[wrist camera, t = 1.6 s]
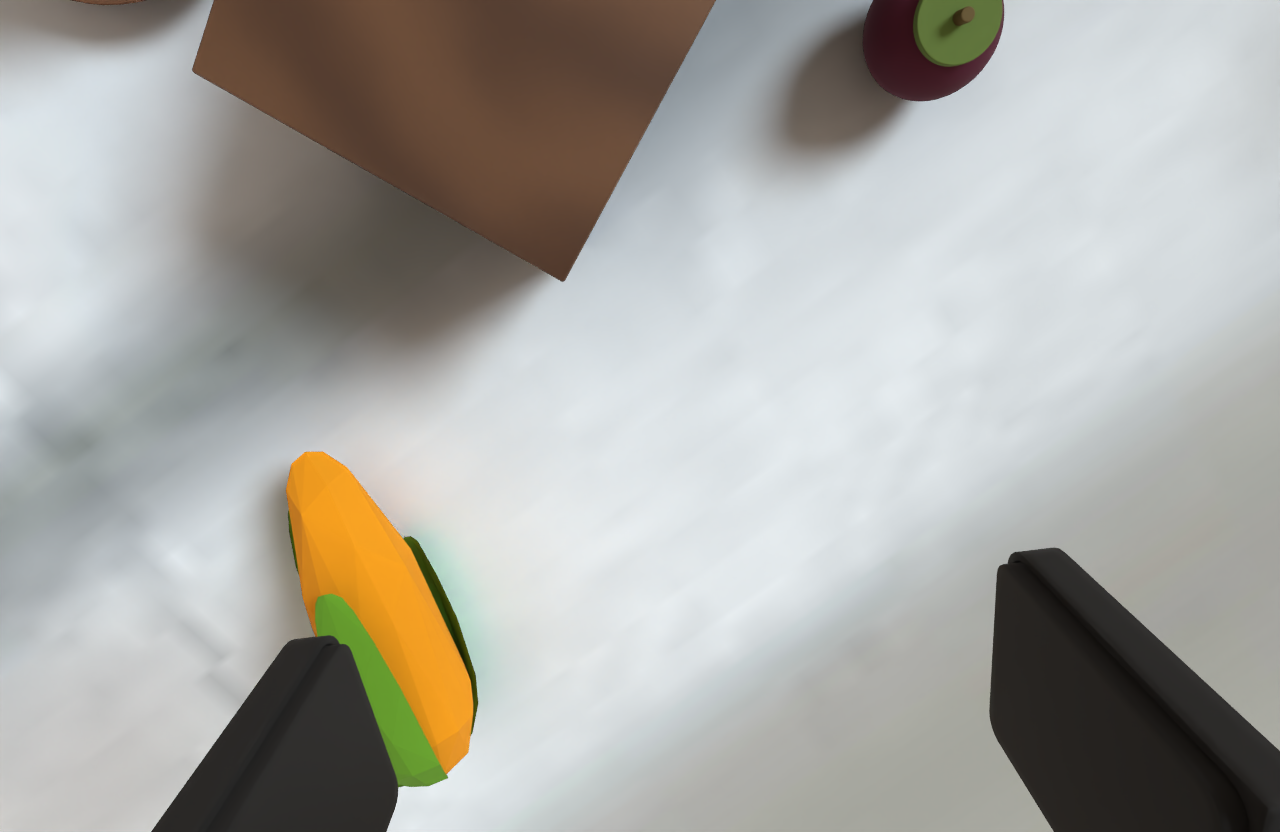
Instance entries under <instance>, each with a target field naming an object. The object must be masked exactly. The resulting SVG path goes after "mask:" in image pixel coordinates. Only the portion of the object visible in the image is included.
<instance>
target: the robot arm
mask: <svg viewBox="0 0 1280 832" xmlns="http://www.w3.org/2000/svg"><path fill="white" fill-rule="evenodd" d="M989 711H990V721H991V725H992V728H993V731H994V734H995V736H996V738H997V740H998V742H999V744H1000V745H1001V747H1002V749H1003V750H1004V752H1005V753H1006V755H1007V757H1008V758H1009V760H1010V761H1011V763H1012V765H1013V766H1014V768H1015V770H1016V771H1017V773H1018V774H1019V776H1020V778H1021V779H1022V781H1023V782H1024V784H1025V786H1026V787H1027V789H1028V791H1029V792H1030V794H1031V795H1032V797H1033V799H1034V800H1035V802H1036V803H1037V805H1038V807H1039V808H1040V810H1041V812H1042V813H1043V815H1044V816H1045V818H1046V820H1047V821H1048V823H1049V824H1050V826H1051V828H1052V829H1053V831H1054V832H1280V751H1279V750H1278V749H1277V748H1276V747H1275V746H1274V745H1273V744H1271V743H1270V742H1269V741H1268V740H1267V739H1266V738H1265V737H1264V736H1263V735H1262V734H1261V733H1260V732H1258V731H1257V730H1256V729H1255V728H1254V727H1253V726H1252V725H1251V724H1250V723H1249V722H1248V721H1247V720H1245V719H1244V718H1243V717H1242V716H1241V715H1240V714H1239V713H1238V712H1237V711H1236V710H1235V709H1234V708H1233V707H1231V706H1230V705H1229V704H1228V703H1227V702H1226V701H1225V700H1224V699H1223V698H1222V697H1221V696H1220V695H1218V694H1217V693H1216V692H1215V691H1214V690H1213V689H1212V688H1211V687H1210V686H1209V685H1208V684H1207V683H1205V682H1204V681H1203V680H1202V679H1201V678H1200V677H1199V676H1198V675H1197V674H1196V673H1195V672H1194V671H1193V670H1191V669H1190V668H1189V667H1188V666H1187V665H1186V664H1185V663H1184V662H1183V661H1182V660H1181V659H1180V658H1178V657H1177V656H1176V655H1175V654H1174V653H1173V652H1172V651H1171V650H1170V649H1169V648H1168V647H1166V646H1165V645H1164V644H1163V643H1162V642H1161V641H1160V640H1159V639H1158V638H1157V637H1156V636H1155V635H1154V634H1152V633H1151V632H1150V631H1149V630H1148V629H1147V628H1146V627H1145V626H1144V625H1143V624H1142V623H1141V622H1139V621H1138V620H1137V619H1136V618H1135V617H1134V616H1133V615H1132V614H1131V613H1130V612H1129V611H1128V610H1126V609H1125V608H1124V607H1123V606H1122V605H1121V604H1120V603H1119V602H1118V601H1117V600H1116V599H1115V598H1114V597H1112V596H1111V595H1110V594H1109V593H1108V592H1107V591H1106V590H1105V589H1104V588H1103V587H1102V586H1101V585H1099V584H1098V583H1097V582H1096V581H1095V580H1094V579H1093V578H1092V577H1091V576H1090V575H1089V574H1088V573H1086V572H1085V571H1084V570H1083V569H1082V568H1081V567H1080V566H1079V565H1078V564H1077V563H1076V562H1075V561H1074V560H1072V559H1071V558H1070V557H1069V556H1068V555H1067V554H1066V553H1065V552H1063V551H1062V550H1060V549H1059V548H1046V549H1038V550H1030V551H1022V552H1015V553H1013V554H1011V556H1010V558H1009V560H1008V564H1003V565H1001V566H999V568H998V571H997V582H996V601H995V619H994V637H993V655H992V673H991V692H990V710H989ZM397 797H398V781H397V777H396V774H395V771H394V769H393V766H392V763H391V760H390V757H389V755H388V752H387V749H386V746H385V743H384V741H383V738H382V735H381V732H380V729H379V727H378V724H377V721H376V718H375V716H374V713H373V710H372V707H371V704H370V702H369V699H368V696H367V693H366V690H365V688H364V685H363V682H362V679H361V676H360V674H359V671H358V668H357V665H356V662H355V660H354V657H353V654H352V651H351V649H350V647H349V646H348V645H346V644H340V643H339V641H338V640H337V639H336V638H335V637H334V636H331V635H327V636H318V637H310V638H302V639H294V640H291V641H289V642H288V643H287V644H286V645H285V646H284V647H283V648H282V650H281V651H280V653H279V654H278V655H277V657H276V658H275V660H274V661H273V662H272V664H271V665H270V667H269V668H268V669H267V671H266V672H265V674H264V675H263V676H262V678H261V679H260V681H259V682H258V683H257V685H256V686H255V688H254V689H253V690H252V692H251V693H250V695H249V696H248V697H247V699H246V700H245V702H244V703H243V704H242V706H241V707H240V709H239V710H238V711H237V713H236V714H235V716H234V717H233V718H232V720H231V721H230V722H229V724H228V725H227V727H226V728H225V729H224V731H223V732H222V734H221V735H220V736H219V738H218V739H217V741H216V742H215V743H214V745H213V746H212V748H211V749H210V750H209V752H208V753H207V755H206V756H205V757H204V759H203V760H202V762H201V763H200V764H199V766H198V767H197V769H196V770H195V771H194V773H193V774H192V776H191V777H190V778H189V780H188V781H187V783H186V784H185V785H184V787H183V788H182V789H181V791H180V792H179V794H178V795H177V796H176V798H175V799H174V801H173V802H172V803H171V805H170V806H169V808H168V809H167V810H166V812H165V813H164V815H163V816H162V817H161V819H160V820H159V822H158V823H157V824H156V826H155V827H154V829H153V830H152V831H151V832H386V831H387V828H388V826H389V823H390V820H391V818H392V815H393V812H394V809H395V806H396V803H397Z"/></svg>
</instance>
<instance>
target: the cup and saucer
mask: <svg viewBox="0 0 1280 832" xmlns="http://www.w3.org/2000/svg"><path fill="white" fill-rule="evenodd" d="M72 1H77V2H83V3H88V4H99V5H121V4H129V3H136V2H141V1H145V0H72Z"/></svg>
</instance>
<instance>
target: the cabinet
mask: <svg viewBox="0 0 1280 832" xmlns="http://www.w3.org/2000/svg"><path fill="white" fill-rule="evenodd" d="M715 1H716V0H214V2H213V5H212V8H211V11H210V14H209V18H208V21H207V24H206V27H205V30H204V33H203V37H202V40H201V43H200V46H199V49H198V52H197V56H196V59H195V62H194V65H193V68H192V71H193V72H194V73H195V74H197V75H199V76H200V77H202V78H204V79H206V80H208V81H209V82H211V83H213V84H215V85H216V86H218V87H220V88H222V89H223V90H225V91H227V92H229V93H230V94H232V95H234V96H236V97H237V98H239V99H241V100H243V101H245V102H246V103H248V104H250V105H252V106H253V107H255V108H257V109H259V110H260V111H262V112H264V113H266V114H267V115H269V116H271V117H273V118H274V119H276V120H278V121H280V122H282V123H283V124H285V125H287V126H289V127H290V128H292V129H294V130H296V131H297V132H299V133H301V134H303V135H304V136H306V137H308V138H310V139H311V140H313V141H315V142H317V143H319V144H320V145H322V146H324V147H326V148H327V149H329V150H331V151H333V152H334V153H336V154H338V155H340V156H341V157H343V158H345V159H347V160H348V161H350V162H352V163H354V164H356V165H357V166H359V167H361V168H363V169H364V170H366V171H368V172H370V173H371V174H373V175H375V176H377V177H378V178H380V179H382V180H384V181H385V182H387V183H389V184H391V185H393V186H394V187H396V188H398V189H400V190H401V191H403V192H405V193H407V194H408V195H410V196H412V197H414V198H415V199H417V200H419V201H421V202H422V203H424V204H426V205H428V206H430V207H431V208H433V209H435V210H437V211H438V212H440V213H442V214H444V215H445V216H447V217H449V218H451V219H452V220H454V221H456V222H458V223H459V224H461V225H463V226H465V227H467V228H468V229H470V230H472V231H474V232H475V233H477V234H479V235H481V236H482V237H484V238H486V239H488V240H489V241H491V242H493V243H495V244H496V245H498V246H500V247H502V248H504V249H505V250H507V251H509V252H511V253H512V254H514V255H516V256H518V257H519V258H521V259H523V260H525V261H526V262H528V263H530V264H532V265H533V266H535V267H537V268H539V269H541V270H542V271H544V272H546V273H548V274H549V275H551V276H553V277H555V278H556V279H558V280H560V281H562V282H564V281H565V279H566V278H567V276H568V274H569V272H570V270H571V268H572V266H573V265H574V263H575V261H576V259H577V257H578V255H579V253H580V252H581V250H582V248H583V246H584V244H585V242H586V240H587V239H588V237H589V235H590V233H591V231H592V229H593V227H594V226H595V224H596V222H597V220H598V218H599V216H600V214H601V213H602V211H603V209H604V207H605V205H606V203H607V201H608V200H609V198H610V196H611V194H612V192H613V190H614V188H615V187H616V185H617V183H618V181H619V179H620V177H621V176H622V174H623V172H624V170H625V168H626V166H627V164H628V163H629V161H630V159H631V157H632V155H633V153H634V151H635V150H636V148H637V146H638V144H639V142H640V140H641V138H642V137H643V135H644V133H645V131H646V129H647V127H648V125H649V124H650V122H651V120H652V118H653V116H654V114H655V112H656V111H657V109H658V107H659V105H660V103H661V101H662V99H663V98H664V96H665V94H666V92H667V90H668V88H669V86H670V85H671V83H672V81H673V79H674V77H675V75H676V73H677V72H678V70H679V68H680V66H681V64H682V62H683V60H684V59H685V57H686V55H687V53H688V51H689V49H690V47H691V46H692V44H693V42H694V40H695V38H696V36H697V35H698V33H699V31H700V29H701V27H702V25H703V23H704V22H705V20H706V18H707V16H708V14H709V12H710V10H711V9H712V7H713V5H714V3H715Z"/></svg>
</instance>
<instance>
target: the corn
mask: <svg viewBox="0 0 1280 832" xmlns="http://www.w3.org/2000/svg"><path fill="white" fill-rule="evenodd" d="M286 494H287V500H288V507H289V511H288V520H289V533H290V538H291V543H292V549H293V554H294V559H295V564H296V568H297V571H298V574H299V577H300V583H301V590H302V596H303V601H304V604H305V607H306V610H307V613H308V617H309V620H310V623H311V626H312V629H313V632H314V634H315V636H316V637H318V636H327V635H331V636H334V637H335V638H336V639H337V640H338V641H339V643H340V644H346V645H348V646H349V647H350V649H351V651H352V654H353V657H354V660H355V662H356V665H357V668H358V671H359V674H360V676H361V679H362V682H363V685H364V688H365V690H366V693H367V696H368V699H369V702H370V704H371V707H372V710H373V713H374V716H375V718H376V721H377V724H378V727H379V729H380V732H381V735H382V738H383V741H384V743H385V746H386V749H387V752H388V755H389V757H390V760H391V763H392V766H393V769H394V771H395V774H396V777H397V781H398V787H402V786H409V787H417V786H430V785H432V784H435V783H437V782H440V781H442V780H444V779H447V778H448V777H447V775H446V774H447V773H448V772H449V771H450V770H451V769H452V768H453V767H454V766H455V765H456V764H457V763H458V762H459V761H460V760H461V759H462V758H463V757H464V756H465V755H466V754H467V753H468V750H469V742H470V736H471V734H472V732H473V727H474V722H475V717H476V712H477V707H478V697H477V686H476V675H475V672H474V669H473V666H472V663H471V660H470V657H469V654H468V650H467V647H466V644H465V641H464V638H463V635H462V632H461V629H460V626H459V623H458V620H457V617H456V615H455V613H454V611H453V609H452V606H451V604H450V602H449V600H448V598H447V596H446V594H445V592H444V589H443V587H442V585H441V583H440V581H439V579H438V577H437V575H436V573H435V571H434V569H433V568H432V566H431V564H430V562H429V560H428V559H427V557H426V555H425V553H424V552H423V550H422V548H421V547H420V545H419V543H418V541H417V540H415V539H414V538H412V537H411V536H410V537H404V539H403V538H402V537H401V536H400V534H399V533H398V532H397V530H396V529H395V528H394V527H393V525H392V524H391V523H390V522H389V520H388V519H387V518H386V516H385V515H384V514H383V513H382V511H381V510H380V509H379V507H378V506H377V505H376V504H375V502H374V501H373V500H372V499H371V497H370V496H369V495H368V493H367V492H366V491H365V490H364V488H363V487H362V486H361V485H360V483H359V482H358V481H357V479H356V478H355V477H354V476H353V474H352V473H351V472H350V470H349V469H348V468H347V467H346V466H344V465H343V464H341V463H340V462H338V461H337V460H335V459H333V458H332V457H330V456H329V455H327V454H326V453H324V452H305V453H304V454H302V455H301V456H300V457H299V458H298V459H297V460H296V461H294V462H293V463H292V464H291V469H290V473H289V478H288V483H287V487H286Z"/></svg>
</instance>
